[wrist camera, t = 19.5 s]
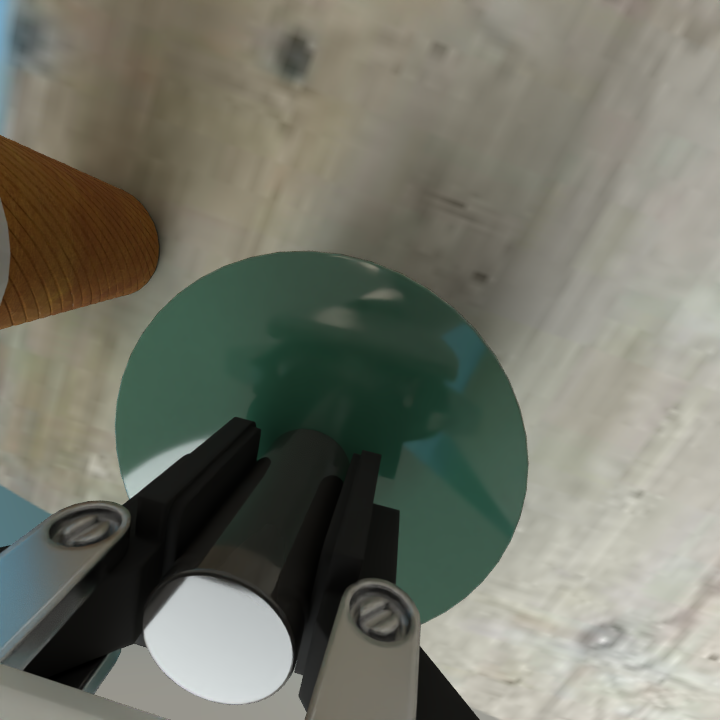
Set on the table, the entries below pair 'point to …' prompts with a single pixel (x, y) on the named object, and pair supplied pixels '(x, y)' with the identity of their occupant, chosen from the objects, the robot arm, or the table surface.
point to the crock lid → (315, 451)
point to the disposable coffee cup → (66, 238)
